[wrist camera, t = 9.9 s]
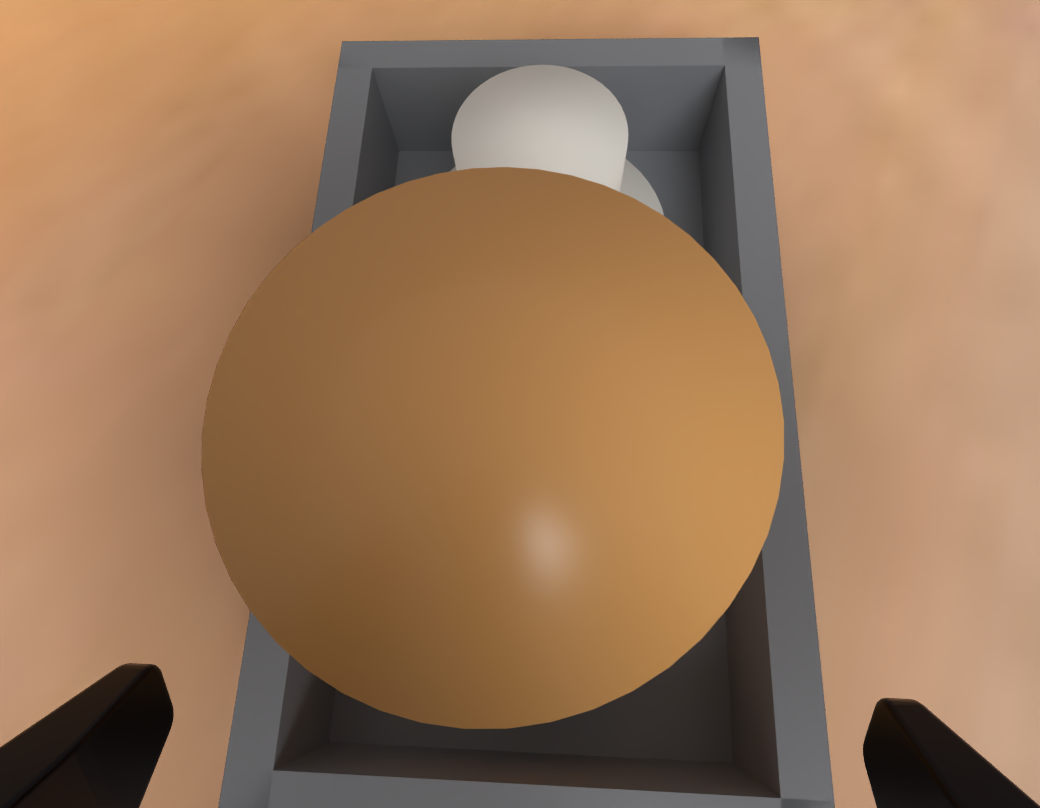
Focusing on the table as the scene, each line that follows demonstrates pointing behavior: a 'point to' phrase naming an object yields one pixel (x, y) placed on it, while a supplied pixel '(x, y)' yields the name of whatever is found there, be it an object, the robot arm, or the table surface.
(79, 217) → the table surface
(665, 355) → the mushroom shaped handle
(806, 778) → the grey storage tray
